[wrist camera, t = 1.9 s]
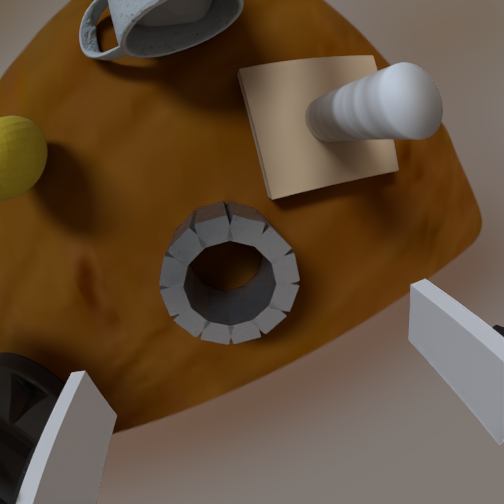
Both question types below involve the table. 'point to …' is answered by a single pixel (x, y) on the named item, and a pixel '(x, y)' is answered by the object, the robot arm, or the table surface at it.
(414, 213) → the table surface
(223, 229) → the ring
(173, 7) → the ceramic mug
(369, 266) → the table surface
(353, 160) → the shaft stand
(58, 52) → the table surface
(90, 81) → the table surface
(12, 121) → the lemon
